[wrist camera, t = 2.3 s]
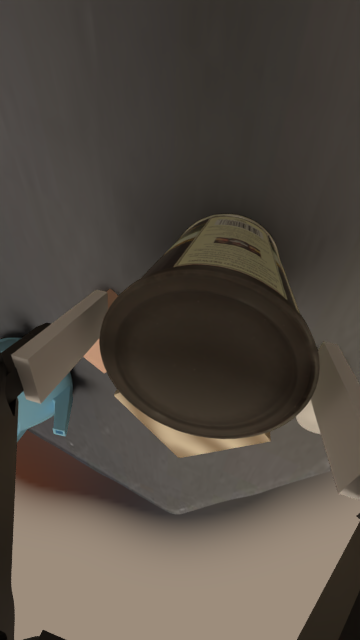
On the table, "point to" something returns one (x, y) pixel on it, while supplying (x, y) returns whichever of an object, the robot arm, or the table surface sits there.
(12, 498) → the robot arm
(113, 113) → the table surface
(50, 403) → the teapot
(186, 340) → the coffee can
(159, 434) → the birch board
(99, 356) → the terracotta block
